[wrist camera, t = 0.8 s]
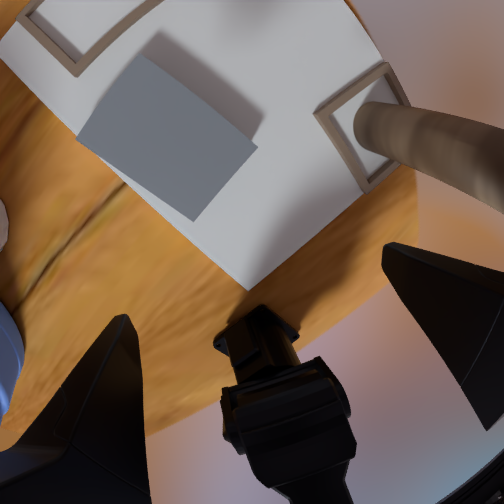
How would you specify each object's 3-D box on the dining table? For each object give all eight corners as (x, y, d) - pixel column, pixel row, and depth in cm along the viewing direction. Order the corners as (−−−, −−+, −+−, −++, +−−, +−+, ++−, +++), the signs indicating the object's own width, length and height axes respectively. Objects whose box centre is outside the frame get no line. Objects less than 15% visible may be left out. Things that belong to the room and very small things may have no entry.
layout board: (414, 137, 22) (428, 141, 21) (244, 282, 25) (250, 296, 24) (215, -108, 8) (219, -120, 6) (1, 51, 11) (-12, 49, 9)
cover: (250, 142, 18) (258, 147, 17) (191, 210, 20) (193, 222, 18) (143, 57, 14) (139, 52, 12) (84, 134, 15) (75, 139, 14)
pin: (400, 133, 20) (538, 187, 10) (368, 161, 21) (506, 234, 10) (379, 92, 18) (533, 123, 7) (343, 119, 19) (500, 168, 8)
